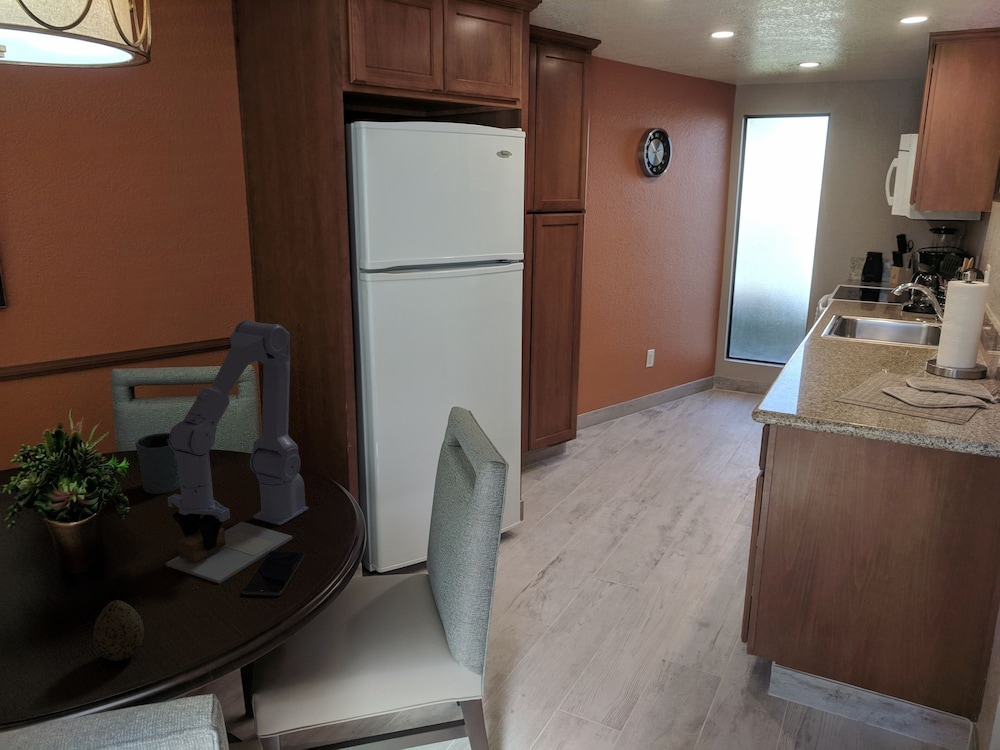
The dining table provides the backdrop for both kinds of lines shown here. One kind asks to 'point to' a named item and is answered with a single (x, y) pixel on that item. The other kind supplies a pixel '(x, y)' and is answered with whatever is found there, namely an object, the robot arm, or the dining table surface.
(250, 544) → the mat
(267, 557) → the smartphone
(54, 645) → the dining table surface
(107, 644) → the decorative egg
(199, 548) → the brown block
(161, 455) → the grey pot
